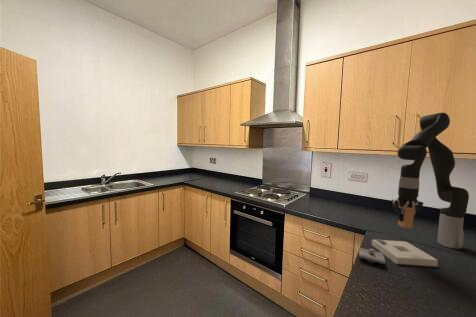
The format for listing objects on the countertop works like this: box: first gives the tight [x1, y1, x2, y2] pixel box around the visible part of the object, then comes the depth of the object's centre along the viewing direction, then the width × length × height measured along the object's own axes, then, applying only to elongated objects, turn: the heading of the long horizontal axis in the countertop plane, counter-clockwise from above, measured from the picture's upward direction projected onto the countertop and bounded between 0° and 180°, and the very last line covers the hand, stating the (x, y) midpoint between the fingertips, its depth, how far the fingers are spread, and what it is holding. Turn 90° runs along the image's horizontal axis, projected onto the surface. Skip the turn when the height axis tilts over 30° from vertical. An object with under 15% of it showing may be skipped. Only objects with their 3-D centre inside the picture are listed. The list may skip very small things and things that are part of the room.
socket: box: [371, 238, 439, 268], centre depth 100 cm, size 18×18×4 cm
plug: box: [397, 206, 415, 230], centre depth 99 cm, size 4×4×12 cm
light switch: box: [358, 247, 386, 265], centre depth 94 cm, size 10×10×5 cm
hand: (405, 221), depth 99 cm, fingers closed on plug, 4 cm apart
